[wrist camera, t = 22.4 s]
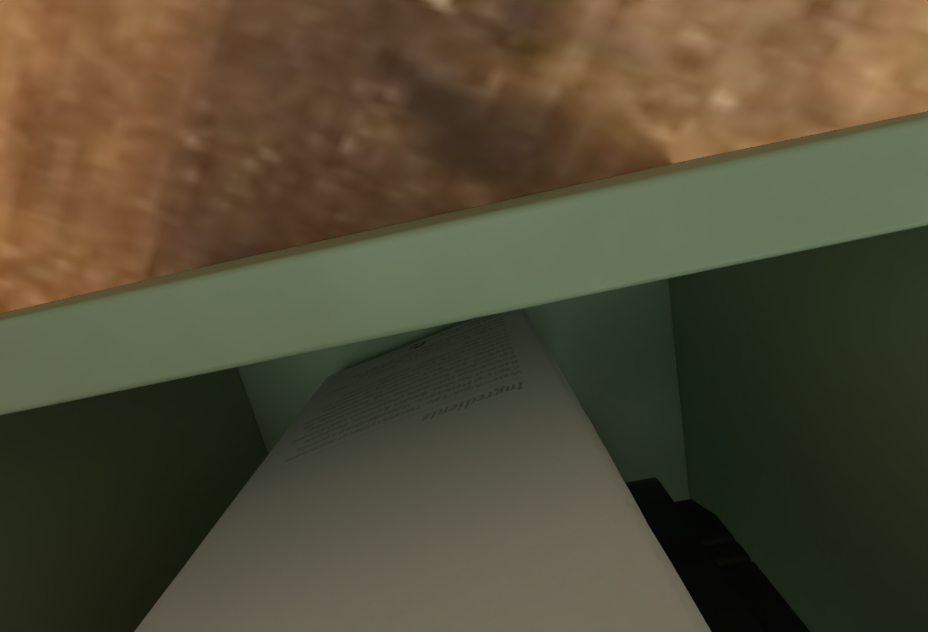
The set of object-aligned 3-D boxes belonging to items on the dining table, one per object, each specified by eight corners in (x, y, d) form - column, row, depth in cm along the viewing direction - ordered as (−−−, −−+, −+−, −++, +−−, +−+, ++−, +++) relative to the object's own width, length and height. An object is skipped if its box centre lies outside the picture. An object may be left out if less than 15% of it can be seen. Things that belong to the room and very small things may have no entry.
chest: (191, 269, 12) (-447, 416, 4) (673, 163, 11) (1280, 38, 3) (343, 679, 16) (202, 1223, 7) (714, 620, 15) (1031, 1149, 7)
